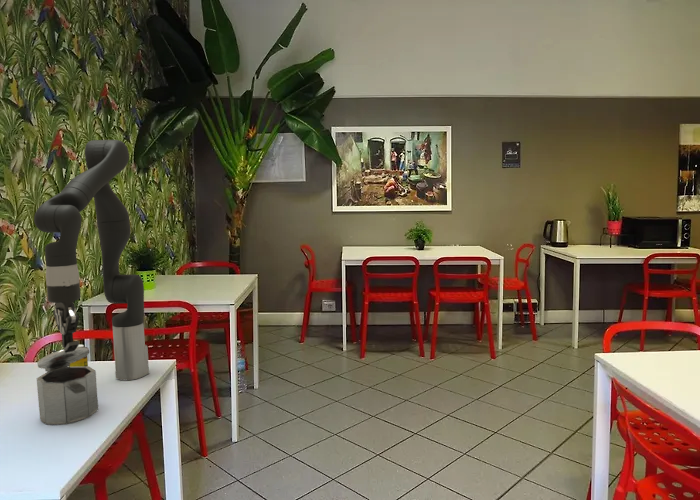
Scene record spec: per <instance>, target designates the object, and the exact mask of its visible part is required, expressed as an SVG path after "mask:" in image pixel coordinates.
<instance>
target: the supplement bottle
mask: <svg viewBox="0 0 700 500" xmlns="http://www.w3.org/2000/svg"><path fill="white" fill-rule="evenodd" d="M78 347H85V345H84V344H79V345H78ZM88 360H89V359H88V355H87V356H85V357H84V358H82V359H80V360H78V361H75V362H73V363H70V366H68V367H75V366H89V362H88Z"/></svg>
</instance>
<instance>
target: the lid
mask: <svg viewBox="0 0 700 500" xmlns="http://www.w3.org/2000/svg"><path fill="white" fill-rule="evenodd" d="M78 345H80V341H79V340H74V341H73V342H70V343H68V344H67V346H66V347H65V348H63V349H60V350H58V351H54V352H51V353H49V354H47V355H45V356H44V357H41V358H40V359H39V360H38V361H37V367H38V368H39V369H43V370H44V371H45V372H47V371H51V370H55V369H59V368H64V367H69V366H70V363H73V362H75V361H78V360H80V359H82V358H84V357H85V356H87V357H88V355H89V354H90V350H89V347H87V346H84V347H78Z"/></svg>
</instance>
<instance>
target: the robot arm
mask: <svg viewBox="0 0 700 500" xmlns="http://www.w3.org/2000/svg"><path fill="white" fill-rule="evenodd" d="M85 144H86V145H85V149H84V156H85V157H84V158H85V163H86V169H87V170H85V171H83V172H80V173H79V174H77V175H76V176H74V177H72V179H71V180H70V181H68V183H67V184H66V185H65V186H64V188H63V189H62V190H60V192H59V193H57V194H55V195H53V197H51V198H49V199H48V200H46V201H45V202H43V203H42V204H41V205H40V206H38V208H37V209H36V211H35V213H34V217H33V218H34V220H33V221H34V224H35V227H36V228H37V229H38V230H39V231H41V232H42V233H50V234H53V233H56V234H57V233H60V235H59V239H58V240H56V241H53V242H52V241H51V242H49V243H47V244H46V245H45V247H44V255H45V256H44V257H45V268H46V269H45V283H46V292H47V293H46V295H47V301H48V302H49V303H52V304H55V308H54V310H52V314H53V316H54V321H55V324H56V327H57V330H58V331H59V332H60V334H61V341H62V343H61V344H62V348H63V349H65V347H66V346H67V344H68V343H70V342H74V335H73V334H74V333H76V332H77V328H78V324H79V320H80V316H79V315H78V314H77V308H76V306H75V305H74V303H75V301H78V300H80V299H81V297H82V296H81V284H80V271H79V269H78V268H79V267H78V260H77V258H78V257H77V245H78V240H79V235H80V231H81V228H82V214H81V212H82V211H84V210H85V209H86V207H87V206H88V204H90V202H91V201H92V199H94V200H93V202H94V208H95V215H96V216H95V217H96V225H97V233H98V238H99V243H100V245H99V246H100V250H101V251H100V253H101V261H102V281H103V283H102V285H103V293H104V296H105V300H106V301H107V302H108V303H110V304H126V305H127V306H126V310H125V311H122V312H120V313H118V314H115V315H113V316H112V321H111V322H112V323H111V325H112V337H113V339H112V340H113V353H114V366H115V371H114V372H115V378H116V380H119V381H131V380H136V379H140V378H143V377H145V376H146V375H149V374H150V367H149V365H150V364H149V353H148V352H149V350H148V348H149V347H148V345H147V344H145V342H146V341H145V328H144V327H145V326H144V316H145V315H144V314H145V286H144V282H143V281H144V280H143V279H142V277H141V276H140V275H138V274H121V273H120V260H121V259H120V258H121V256H122V253H123V252H124V250H125V248H126V246H127V244H128V242H129V240H130V238H131V234H132V232H131V230H132V229H131V224H130V223H131V221H130V215H129V211H128V209H127V208H126V206H125V205H124V203H123V202H122V201H121V200H120V198H119V197H118V195H116V193H115V192H114V190H113V189H112V187H111V185H110V181H111V180H112V179H113V178H115V177H116V176H118V174H119V173H121V172H122V171H123V170H124V169H125V168H126V167H127V166H128V164H129V159H130V154H129V149H128V147H127V145H126V144H125V142H123V141H121V140H120V139H119V140H118V139H94V140H89V141H88V142H87V143H85Z"/></svg>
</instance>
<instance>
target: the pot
mask: <svg viewBox="0 0 700 500" xmlns="http://www.w3.org/2000/svg"><path fill="white" fill-rule="evenodd" d="M36 388H37V397H38V398H37V401H38V410H39V412H38V413H39V420H40V422H41V423H43V424H45V425H47V426H49V425H50V426H61V425H69V424H74V423H77V422H80V421H84V420H86V419H89V418H91V417H92V416H94V415H95V414H96V413H97V412H98V410H99V400H98V399H99V397H98V387H97V372H96V370H95V369H93V368H92V367H90V366H89V365H88V366H75V367H69V366H68V367H64V368H59V369H55V370H51V371H45V373H43V374H41V375H40V376H38V377H36Z"/></svg>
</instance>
